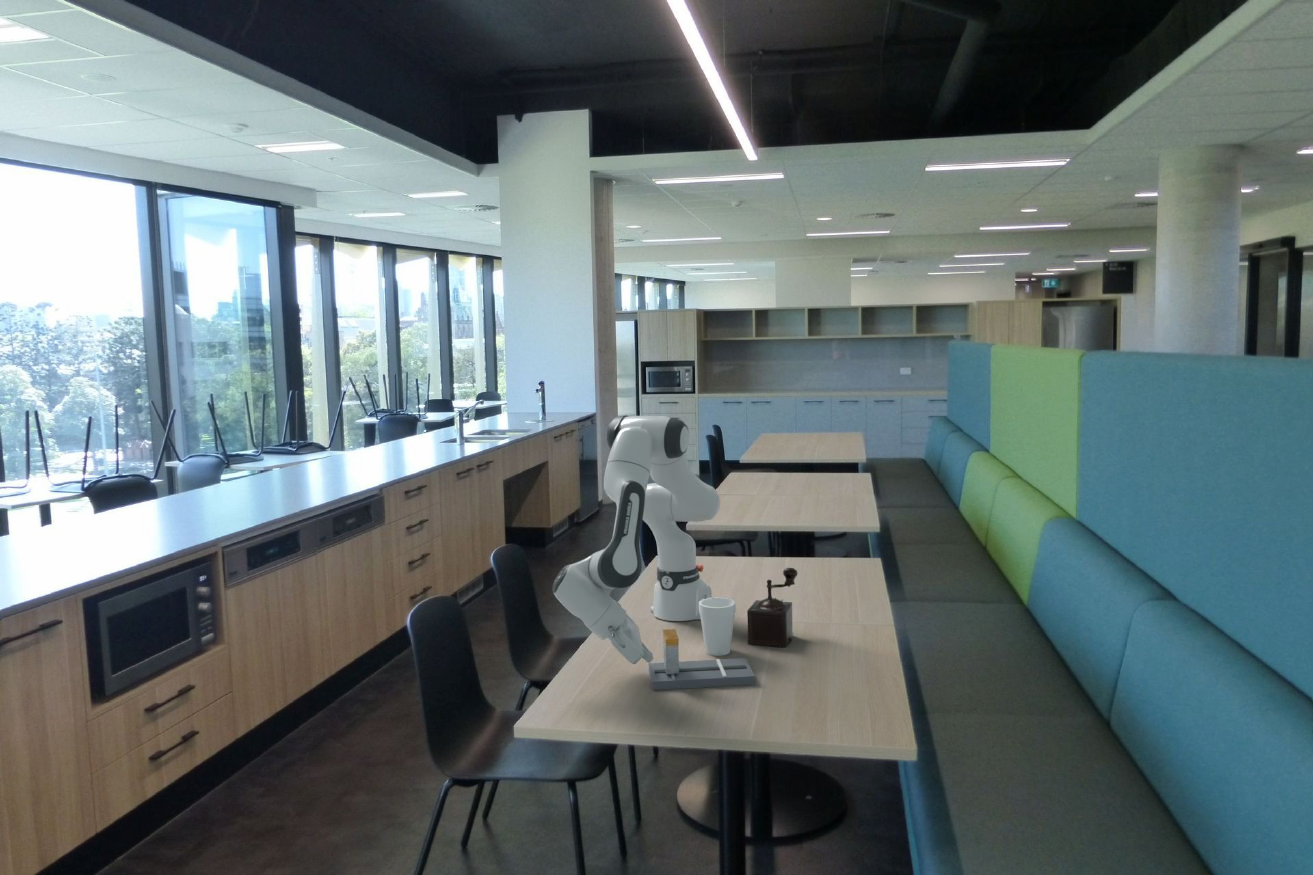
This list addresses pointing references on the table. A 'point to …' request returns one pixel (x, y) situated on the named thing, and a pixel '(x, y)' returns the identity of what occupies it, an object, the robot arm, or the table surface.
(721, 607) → the foam cup
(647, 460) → the robot arm
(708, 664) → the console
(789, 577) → the manual coffee grinder
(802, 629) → the table surface
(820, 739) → the table surface
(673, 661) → the plate
